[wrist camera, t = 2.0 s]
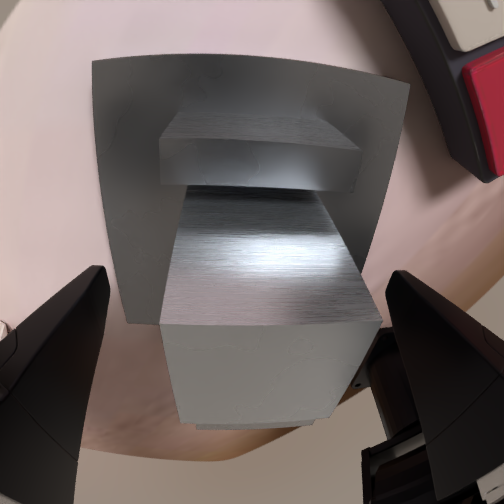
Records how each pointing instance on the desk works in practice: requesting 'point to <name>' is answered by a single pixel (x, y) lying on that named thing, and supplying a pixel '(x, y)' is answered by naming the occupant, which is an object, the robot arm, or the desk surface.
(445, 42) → the button control pad
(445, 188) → the desk surface
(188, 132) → the stand base
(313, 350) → the column
